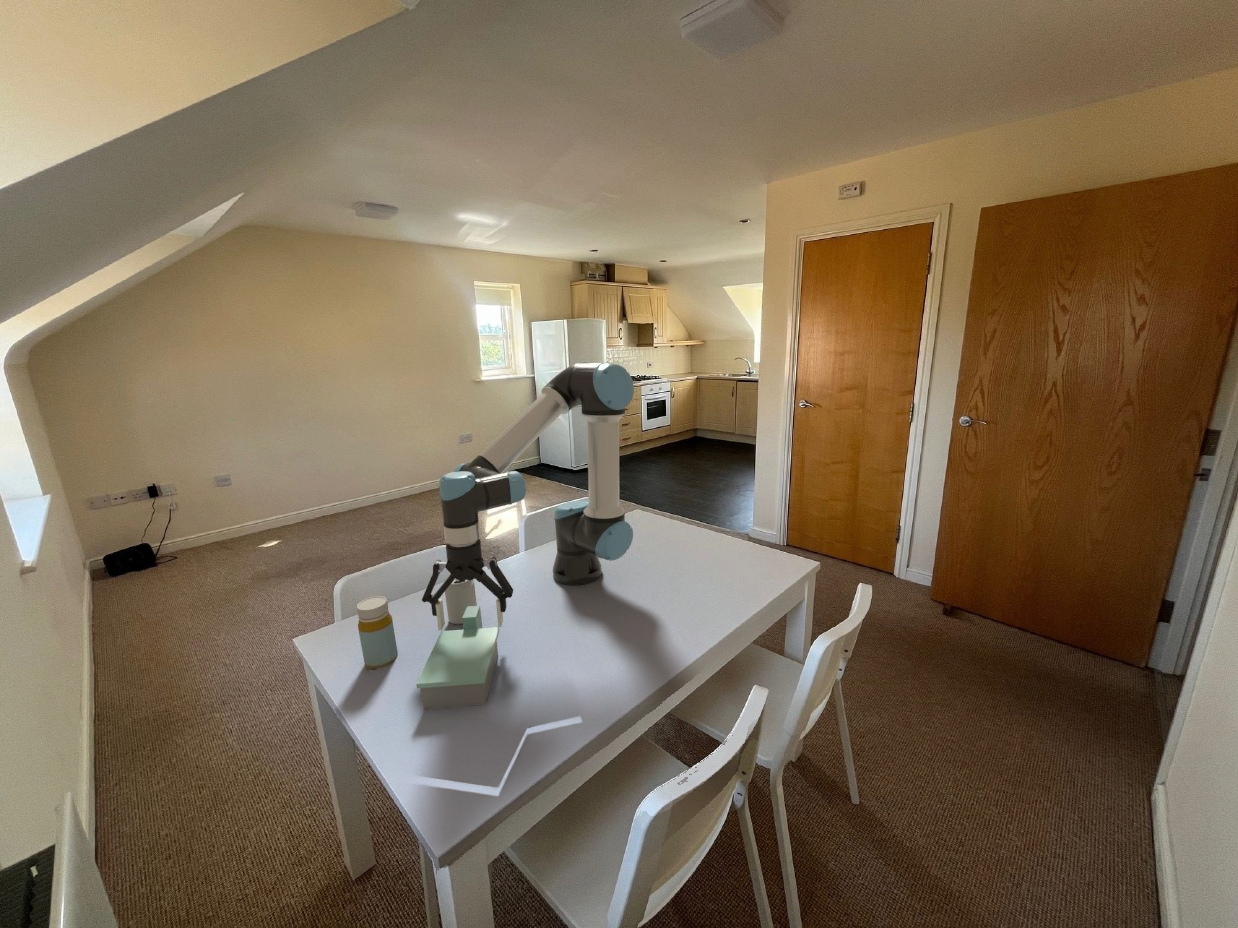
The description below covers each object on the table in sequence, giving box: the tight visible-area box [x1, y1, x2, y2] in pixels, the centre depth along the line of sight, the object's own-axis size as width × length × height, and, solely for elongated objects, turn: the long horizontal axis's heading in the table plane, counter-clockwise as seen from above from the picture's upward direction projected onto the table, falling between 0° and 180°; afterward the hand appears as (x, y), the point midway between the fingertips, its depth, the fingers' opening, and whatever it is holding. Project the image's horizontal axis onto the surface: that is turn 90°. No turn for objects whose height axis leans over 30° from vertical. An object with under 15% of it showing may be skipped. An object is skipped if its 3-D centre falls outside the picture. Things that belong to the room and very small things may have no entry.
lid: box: [415, 605, 500, 689], centre depth 107 cm, size 13×23×7 cm, turn 4°
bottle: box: [356, 595, 399, 671], centre depth 112 cm, size 7×7×15 cm
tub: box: [420, 641, 499, 710], centre depth 105 cm, size 12×16×6 cm
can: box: [444, 578, 478, 626], centre depth 129 cm, size 8×8×12 cm
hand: (471, 625), depth 116 cm, fingers open, 13 cm apart
